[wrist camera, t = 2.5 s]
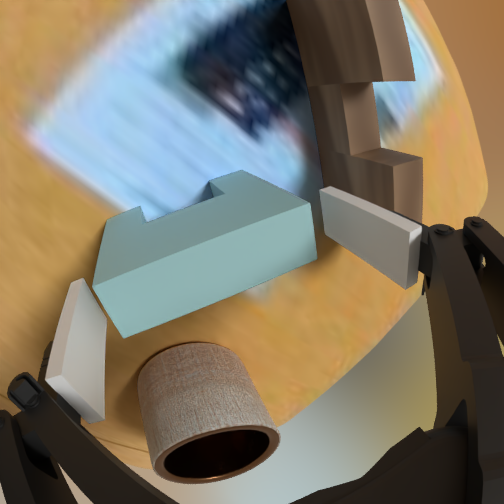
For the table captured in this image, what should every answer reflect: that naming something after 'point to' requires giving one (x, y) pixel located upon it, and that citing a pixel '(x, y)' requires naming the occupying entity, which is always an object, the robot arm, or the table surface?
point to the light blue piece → (200, 251)
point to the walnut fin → (357, 96)
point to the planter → (203, 415)
